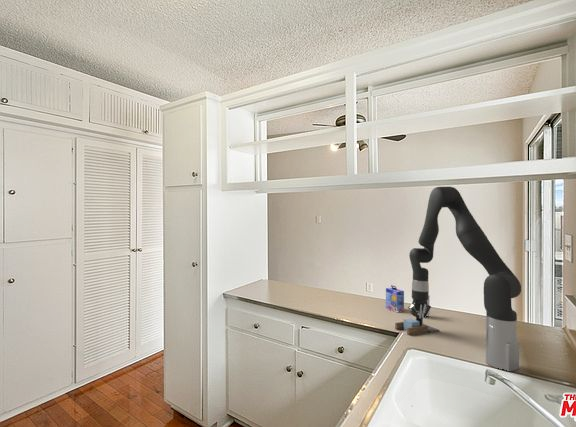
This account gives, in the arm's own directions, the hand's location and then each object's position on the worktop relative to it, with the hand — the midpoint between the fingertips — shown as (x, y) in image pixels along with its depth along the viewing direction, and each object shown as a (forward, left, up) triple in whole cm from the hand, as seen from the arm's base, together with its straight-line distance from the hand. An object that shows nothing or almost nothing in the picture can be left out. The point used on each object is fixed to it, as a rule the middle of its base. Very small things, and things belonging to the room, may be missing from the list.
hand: (419, 325), depth 149 cm
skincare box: (+16, -20, -2) cm, 26 cm away
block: (0, +5, -2) cm, 6 cm away
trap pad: (0, -5, -2) cm, 5 cm away
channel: (0, +5, -2) cm, 5 cm away
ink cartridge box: (+31, -14, -2) cm, 34 cm away
